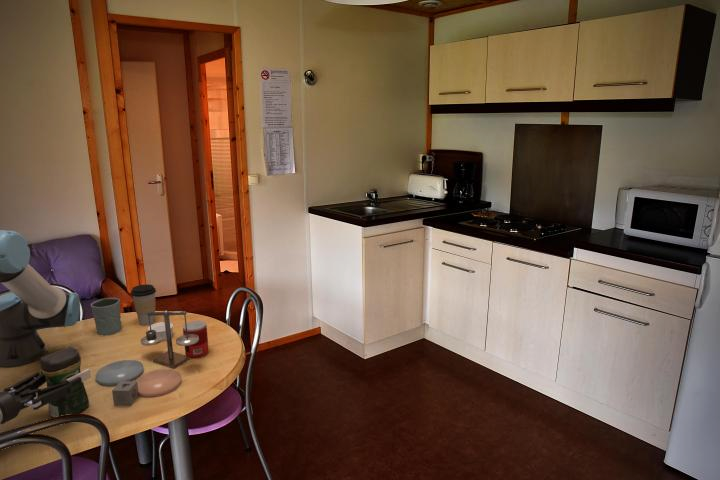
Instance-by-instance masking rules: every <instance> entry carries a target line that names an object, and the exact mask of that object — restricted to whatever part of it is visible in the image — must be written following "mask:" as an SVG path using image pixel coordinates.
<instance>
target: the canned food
mask: <svg viewBox="0 0 720 480" xmlns="http://www.w3.org/2000/svg"><path fill="white" fill-rule="evenodd" d="M186 324H187V334H195V335H198V336H199V341H198V342H197V343H195V344H193V345H189V346H184V351H185V354H184V355H186V356H190V359H199V358H202V357H205V356H207V354H208V353H209V350H210V349H209V337H208V328H207V326H208V325H207V322H206V321H204V320H191V321H188V322H186ZM182 333H183V335H186V327H185V324H183V326H182Z"/></svg>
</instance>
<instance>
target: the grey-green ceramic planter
mask: <svg viewBox="0 0 720 480" xmlns="http://www.w3.org/2000/svg"><path fill="white" fill-rule="evenodd" d="M90 308H91V312H92V314H93V321H94V324H95V328H96V332H97V335H99V336H110V335H115V334H117V333H119V332H121V330H122V320H121V318H122V317H121V300H120V298H118V297H105V298H100V299H97V300H95V301H92V303H90Z"/></svg>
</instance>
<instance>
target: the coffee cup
mask: <svg viewBox="0 0 720 480" xmlns="http://www.w3.org/2000/svg"><path fill="white" fill-rule="evenodd" d="M156 292H157V289H156V287H154V285H153V284H139V285H136V286H133V287H132V288H131V291H130V296H132V301H133V305H134V309H135V313H136V315H137V319H138V323H139V325H140V326H149V317H148V315H147V313H148V312H156ZM155 321H156V316H150V323H151V325H153V324H155Z"/></svg>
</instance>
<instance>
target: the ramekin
mask: <svg viewBox="0 0 720 480" xmlns="http://www.w3.org/2000/svg"><path fill="white" fill-rule="evenodd" d="M173 327H174V325H173V323H172V322H170V328H171V337H173V334H174V333H173V332H174V330H173ZM149 330H150V326H149V325H148V328H147V331H149ZM151 330H155V331H156V334H159V335H162V336H163V341H162V342H164V341H167V338H166V330H165V321H161V322H156V323H152V324H151Z"/></svg>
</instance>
